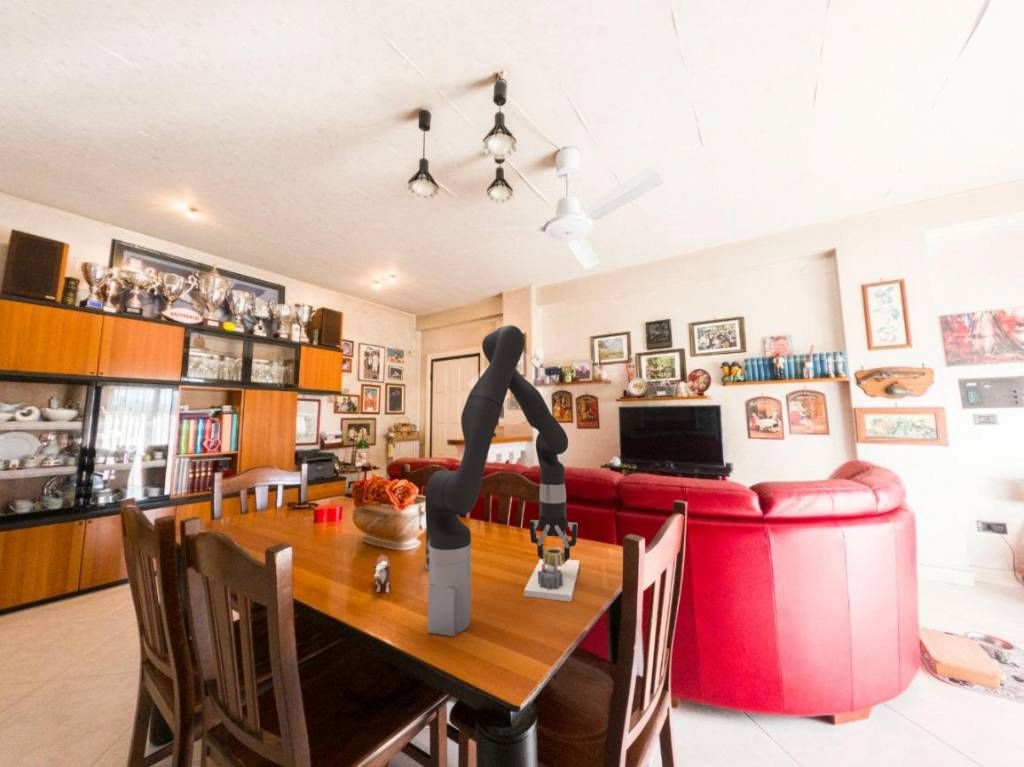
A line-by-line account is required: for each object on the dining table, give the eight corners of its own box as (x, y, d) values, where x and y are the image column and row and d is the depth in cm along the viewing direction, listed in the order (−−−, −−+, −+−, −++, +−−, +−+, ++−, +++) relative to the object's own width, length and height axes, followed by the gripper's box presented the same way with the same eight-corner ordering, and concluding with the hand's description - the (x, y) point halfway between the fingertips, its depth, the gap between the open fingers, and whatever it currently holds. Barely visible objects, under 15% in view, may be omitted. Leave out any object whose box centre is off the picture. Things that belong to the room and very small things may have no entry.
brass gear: (563, 567, 104) (563, 556, 104) (540, 565, 105) (540, 554, 106) (566, 559, 110) (566, 548, 110) (544, 557, 111) (544, 546, 112)
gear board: (571, 601, 94) (570, 574, 94) (524, 596, 97) (523, 569, 97) (579, 565, 117) (579, 544, 118) (541, 562, 120) (540, 541, 121)
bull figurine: (371, 601, 95) (372, 567, 95) (375, 579, 108) (376, 549, 108) (389, 599, 96) (390, 565, 97) (391, 577, 109) (392, 548, 110)
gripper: (525, 500, 107) (526, 562, 106) (576, 503, 104) (578, 566, 102) (531, 495, 115) (531, 552, 113) (579, 497, 111) (580, 556, 109)
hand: (553, 559), depth 108 cm, fingers closed on brass gear, 6 cm apart
